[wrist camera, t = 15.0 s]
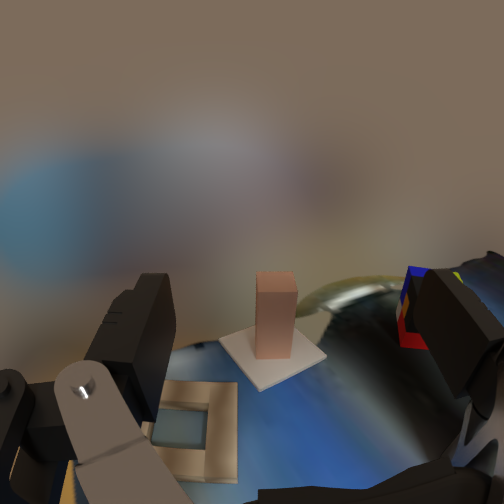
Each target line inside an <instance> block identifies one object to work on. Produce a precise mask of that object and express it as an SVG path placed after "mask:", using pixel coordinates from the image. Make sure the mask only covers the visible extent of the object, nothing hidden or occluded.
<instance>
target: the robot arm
mask: <svg viewBox="0 0 504 504" xmlns="http://www.w3.org/2000/svg"><path fill="white" fill-rule="evenodd" d="M413 320H414V324H415V327H416V329H417V330H418V332H419V334H420V335H421V337H422V339H423V341H424V342H425V344H426V346H427V348H428V349H429V351H430V353H431V355H432V356H433V358H434V360H435V362H436V364H437V366H438V367H439V369H440V371H441V373H442V375H443V377H444V379H445V380H446V382H447V384H448V386H449V388H450V390H451V392H452V394H453V396H454V398H455V399H458V398H462V397H465V396H470V397H471V400H470V401H469V403H468V404H467V407H466V411H465V416H464V421H463V425H462V429H461V432H460V433H459V435H458V436H457V437H456V438H455V439H454V441H453V442H452V443H451V444H450V445H449V446H448V448H447V449H446V450H445V451H444V452H443V454H442V456H441V458H440V459H437V460H434V461H431V462H427V463H424V464H421V465H417V466H414V467H410V468H408V469H406V470H405V471H403V472H401V473H399V474H397V475H395V476H393V477H391V478H389V479H387V480H385V481H383V482H381V483H379V484H377V485H375V486H373V487H371V488H368V489H361V490H360V489H341V488H328V487H317V486H306V487H294V488H280V489H258V500H255V501H251V502H246V503H243V504H504V327H503V326H502V325H501V324H500V322H499V321H498V320H497V319H496V317H495V316H494V315H493V314H492V313H491V311H490V310H488V308H487V307H486V305H485V304H484V303H483V302H481V300H480V298H479V297H478V296H477V295H476V294H475V293H474V292H473V290H471V289H470V288H468V287H467V286H465V285H464V284H463V283H462V282H461V281H460V280H459V279H458V277H457V276H456V275H455V274H454V273H453V272H452V271H451V270H450V269H447V268H445V269H429V270H427V271H426V272H425V274H424V277H423V281H422V284H421V287H420V291H419V294H418V297H417V300H416V304H415V307H414V311H413ZM175 332H176V316H175V310H174V304H173V299H172V293H171V287H170V280H169V276H168V274H167V273H142V274H141V276H140V278H139V280H138V282H137V284H136V286H135V288H134V290H125V291H123V292H122V293H121V294H120V295H119V296H118V297H116V298H115V299H114V300H113V302H112V304H111V306H110V308H109V310H108V314H106V315H105V317H104V319H103V321H102V324H101V325H100V327H99V329H98V331H97V333H96V335H95V338H94V339H93V341H92V343H91V345H90V347H89V349H88V352H87V353H86V356H85V358H84V360H83V361H78V362H75V363H73V364H71V365H69V366H67V367H66V368H64V369H63V370H62V371H61V372H60V373H59V375H58V376H57V378H56V380H55V381H52V382H44V383H34V384H27V382H26V381H25V379H24V377H23V376H22V375H21V373H19V372H18V371H16V370H13V369H5V370H1V371H0V504H59V502H60V497H61V492H62V488H63V483H64V479H65V475H66V470H67V466H68V462H69V460H78V462H79V464H77V465H76V466H75V470H76V474H77V477H78V479H79V482H80V484H81V486H82V489H83V491H84V493H85V495H86V497H87V499H88V501H89V503H90V504H194V503H193V502H192V501H191V500H190V498H189V497H188V496H187V494H186V493H185V492H184V490H183V489H182V488H181V486H180V485H179V484H178V482H177V481H176V479H175V478H174V477H173V475H172V474H171V472H170V471H169V470H168V468H167V467H166V465H165V464H164V462H163V461H162V459H161V458H160V456H159V455H158V453H157V452H156V450H155V449H154V447H153V446H152V444H151V443H150V441H149V440H148V438H147V437H146V436H145V435H144V434H143V432H142V431H141V426H142V422H152V423H156V418H157V413H158V408H159V404H160V399H161V394H162V390H163V385H164V381H165V376H166V372H167V367H168V363H169V359H170V355H171V350H172V346H173V342H174V338H175ZM19 446H20V450H19V453H18V456H17V459H16V462H15V465H14V468H13V471H12V475H11V478H10V481H9V476H10V472H11V468H12V465H13V462H14V459H15V456H16V453H17V450H18V447H19Z"/></svg>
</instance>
